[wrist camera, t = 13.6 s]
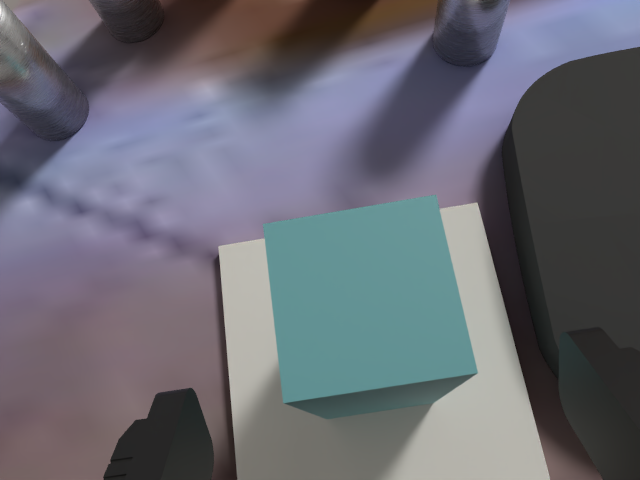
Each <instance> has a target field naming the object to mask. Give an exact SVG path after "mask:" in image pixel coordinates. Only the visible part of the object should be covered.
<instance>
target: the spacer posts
mask: <svg viewBox="0 0 640 480" xmlns="http://www.w3.org/2000/svg"><path fill="white" fill-rule="evenodd" d="M89 1H90V3H91V4H92V6H93V7H94V9H95V10H96V12H97V13H98V15H99V16H100V18H101V19H102V21H103V22H104V24H105V25H106V27H107V28H108V30H109V31H110V33H111V34H112V35H113V36H114V37H115V38H116V39H118V40H120V41H123V42H138V41H142V40H144V39H146V38H148V37H150V36H151V35H153V34H154V33H155V32H156V31H157V30H158V29H159V27H160V26H161V24H162V22H163V18H164V10H163V7H162V5H161V3H160V1H159V0H89ZM509 2H510V0H438V3H437V11H436V18H435V26H434V33H433V46H434V49H435V51H436V52H437V54H438V55H439V56H440V57H441V58H442V59H444V60H445V61H447V62H449V63H451V64H454V65H458V66H473V65H477V64H479V63H482V62H484V61H485V60H487V59H488V58H489V57H490V56H491V55H492V54H493V53H494V51H495V49H496V46H497V43H498V39H499V36H500V33H501V29H502V26H503V23H504V19H505V16H506V12H507V9H508V6H509ZM0 103H1V104H2V105H3V106H5V107H6V108H7V109H8V110H9V111H10V112H11V113H13V114H14V115H15V116H16V117H17V118H18V119H19V120H20V121H22V122H23V123H24V124H25V125H26V126H27V127H28V128H29V129H31V130H32V131H33V132H34V133H35V134H36V135H37V136H39V137H40V138H42V139H45V140H50V141H55V140H61V139H65V138H67V137H69V136H71V135H73V134H74V133H76V132H77V131H78V130H79V129H80V128H81V127H82V126H83V124H84V123H85V121H86V119H87V116H88V113H89V104H88V101H87V98H86V97H85V96H84V94H83V93H82V92H81V91H80V90H79V89H78V87H77V86H76V85H75V84H74V83H73V82H72V80H71V79H70V78H69V77H68V76H67V75H66V73H65V72H64V71H63V70H62V69H61V68H60V67H59V65H58V64H57V63H56V62H55V61H54V60H53V58H52V57H51V56H50V55H49V54H48V53H47V51H46V50H45V49H44V48H43V47H42V46H41V44H40V43H39V42H38V41H37V40H36V39H35V37H34V36H33V35H32V34H31V33H30V32H29V30H28V29H27V28H26V27H25V26H24V25H23V24H22V22H21V21H20V20H19V19H18V18H17V17H16V15H15V14H14V13H13V12H12V11H11V10H10V8H9V7H8V6H7V5H6V4H5V3H4V2H3V0H0Z"/></svg>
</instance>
